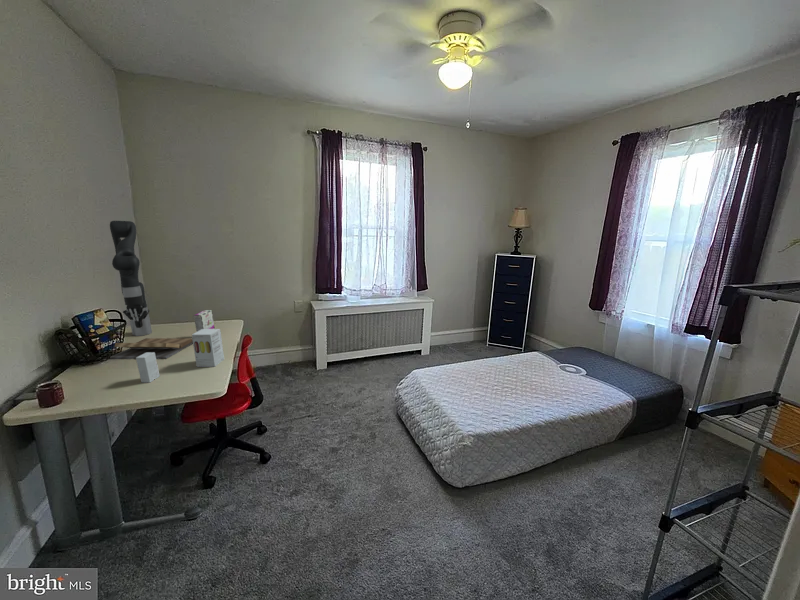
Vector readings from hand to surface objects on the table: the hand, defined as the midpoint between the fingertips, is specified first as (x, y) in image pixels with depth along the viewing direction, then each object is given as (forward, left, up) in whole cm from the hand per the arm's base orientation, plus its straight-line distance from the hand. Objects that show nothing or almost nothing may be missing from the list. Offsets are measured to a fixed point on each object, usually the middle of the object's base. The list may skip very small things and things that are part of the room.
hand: (139, 327), depth 173 cm
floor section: (0, +7, -16) cm, 17 cm away
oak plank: (0, +3, -12) cm, 12 cm away
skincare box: (+25, -28, -16) cm, 41 cm away
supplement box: (+42, -10, -16) cm, 46 cm away
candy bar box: (+17, +27, -16) cm, 36 cm away
